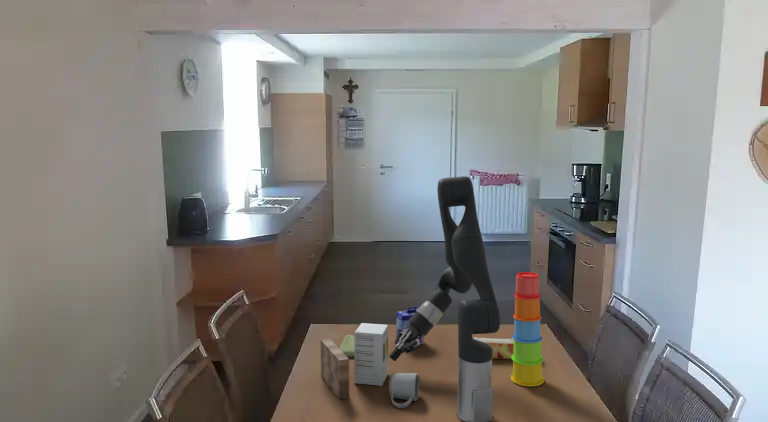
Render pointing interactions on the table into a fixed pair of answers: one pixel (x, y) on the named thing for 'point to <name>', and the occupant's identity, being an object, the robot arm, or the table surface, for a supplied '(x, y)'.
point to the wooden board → (335, 368)
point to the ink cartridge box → (406, 320)
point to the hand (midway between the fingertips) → (391, 359)
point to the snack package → (499, 347)
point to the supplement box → (371, 354)
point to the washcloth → (348, 346)
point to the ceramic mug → (404, 388)
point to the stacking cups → (527, 332)
